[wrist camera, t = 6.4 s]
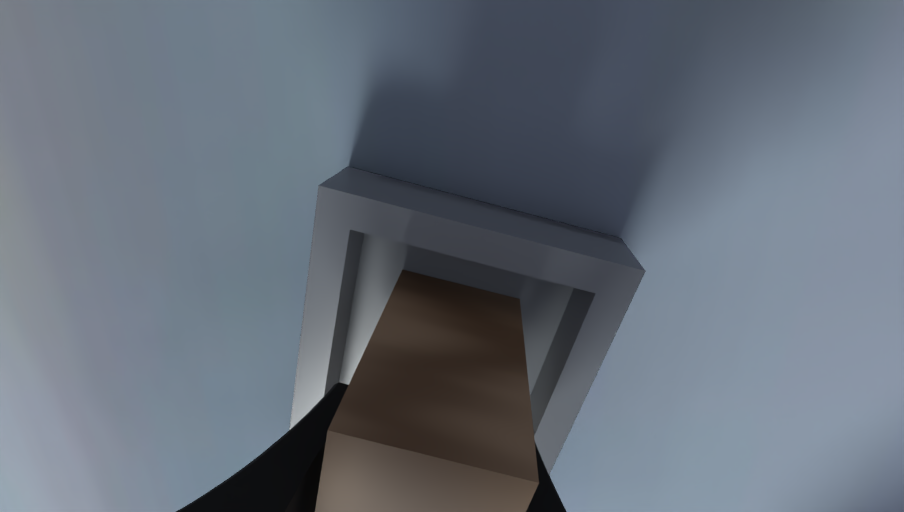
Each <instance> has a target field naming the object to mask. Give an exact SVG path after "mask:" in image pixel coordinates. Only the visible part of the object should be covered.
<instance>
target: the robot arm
mask: <svg viewBox="0 0 904 512" xmlns="http://www.w3.org/2000/svg"><path fill="white" fill-rule="evenodd" d="M347 387H348V384H344V383H340V382H338V383H336V384H334V385H333V387H332V388H331V389H330V390H329V391H328V393H327V394H326V395H325V396H324V397H323V398H322V399H321V400H320V401H319V402H318V403H317V404H316V405H315V406H314V407H313V408H312V409H311V410H310V411H309V412H308V413H307V414H306V415H305V416H304V417H303V418H302V419H301V420H300V421H299V422H298V423H297V424H296V425H295V426H294V427H293V428H291V429H290V430H289V431H288V432H287V433H286V434H285V435H284V436H282V437H281V438H280V439H279V440H278V441H276V442H275V443H274V444H273V445H272V446H270V447H269V448H268V449H267V450H266V451H265V452H263V453H262V454H261V455H260V456H258V457H257V458H256V459H254V460H253V461H252V462H251V463H249V464H248V465H247V466H245V467H244V468H243V469H241V470H240V471H238V472H237V473H236V474H234V475H233V476H231V477H230V478H229V479H227V480H226V481H224V482H223V483H221V484H220V485H218V486H217V487H215V488H214V489H212V490H211V491H209V492H208V493H206V494H205V495H203V496H201V497H200V498H198V499H197V500H195V501H193V502H192V503H190V504H189V505H187V506H185V507H183V508H182V509H180V510H178V511H176V512H315V508H316V502H317V495H318V489H319V482H320V476H321V470H322V463H323V457H324V450H325V444H326V437H327V431H328V428H329V426H330V424H331V422H332V420H333V418H334V415H335V413H336V411H337V409H338V407H339V405H340V403H341V400H342V398H343V396H344V394H345V392H346V390H347ZM535 449H536V459H537V468H538V478H539V484H538V486H537V489H536V491H535V493H534V495H533V497H532V500H531V502H530V504H529V506H528V508H527V511H526V512H566V510H565V508H564V506H563V504H562V502H561V500H560V498H559V495H558V493H557V491H556V489H555V487H554V485H553V483H552V481H551V478H550V476H549V474H548V472H547V469H546V467H545V465H544V462H543V460H542V458H541V455H540V453H539V450H538V448H537V445H536V443H535Z"/></svg>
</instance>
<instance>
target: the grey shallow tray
mask: <svg viewBox="0 0 904 512" xmlns="http://www.w3.org/2000/svg"><path fill="white" fill-rule="evenodd" d="M402 269H403V270H407V271H411V272H415V273H419V274H423V275H427V276H430V277H434V278H438V279H442V280H446V281H450V282H454V283H458V284H462V285H466V286H470V287H474V288H478V289H482V290H486V291H490V292H494V293H498V294H502V295H506V296H510V297H514V298H518V299H520V306H521V315H522V325H523V334H524V344H525V354H526V363H527V373H528V382H529V392H530V401H531V411H532V421H533V430H534V440H535V443H536V445H537V448H538V450H539V453H540V455H541V458H542V460H543V462H544V465H545V467H546V469H547V472H548V474H550V472H551V470H552V468H553V466H554V464H555V461H556V459H557V457H558V455H559V453H560V451H561V449H562V447H563V444H564V442H565V440H566V438H567V436H568V434H569V432H570V430H571V428H572V425H573V423H574V421H575V419H576V417H577V415H578V413H579V411H580V409H581V406H582V404H583V402H584V400H585V398H586V396H587V394H588V392H589V389H590V387H591V385H592V383H593V381H594V379H595V377H596V375H597V373H598V370H599V368H600V366H601V364H602V362H603V360H604V358H605V356H606V354H607V351H608V349H609V347H610V345H611V343H612V341H613V339H614V337H615V335H616V332H617V330H618V328H619V326H620V324H621V322H622V320H623V318H624V315H625V313H626V311H627V309H628V307H629V305H630V303H631V301H632V299H633V296H634V294H635V292H636V290H637V288H638V286H639V284H640V282H641V280H642V277H643V275H644V273H645V270H644V268H643V267H642V266H641V264H640V263H639V262H638V260H637V259H636V258H635V256H634V255H633V254H632V252H631V251H630V250H629V248H628V247H627V246H626V244H625V243H624V242H623V240H622V239H621V238H618V237H614V236H611V235H607V234H603V233H599V232H595V231H591V230H588V229H584V228H580V227H576V226H572V225H569V224H565V223H561V222H557V221H553V220H550V219H546V218H542V217H538V216H534V215H530V214H527V213H523V212H519V211H515V210H511V209H508V208H504V207H500V206H496V205H492V204H489V203H485V202H481V201H477V200H473V199H469V198H466V197H462V196H458V195H454V194H450V193H447V192H443V191H439V190H435V189H431V188H428V187H424V186H420V185H416V184H412V183H408V182H405V181H401V180H397V179H393V178H389V177H386V176H382V175H378V174H374V173H370V172H367V171H363V170H359V169H355V168H351V167H346V168H345V169H343V170H342V171H340V172H339V173H337V174H336V175H334V176H333V177H331V178H329V179H328V180H326V181H325V182H323V183H322V184H320V185H319V186H318V195H317V203H316V212H315V220H314V228H313V237H312V245H311V254H310V262H309V270H308V279H307V287H306V295H305V304H304V312H303V321H302V329H301V337H300V346H299V354H298V362H297V371H296V379H295V388H294V396H293V404H292V413H291V421H290V429H291V428H293V427H294V426H295V425H296V424H297V423H298V422H299V421H300V420H301V419H302V418H303V417H304V416H305V415H306V414H307V413H308V412H309V411H310V410H311V409H312V408H313V407H314V406H315V405H316V404H317V403H318V402H319V401H320V400H321V399H322V398H323V397H324V396H325V395H326V394H327V393H328V391H329V390H330V389H331V388H332V387H333V385H334V384H336V383H338V382H340V383H344V384H348V385H349V383H350V381H351V379H352V377H353V375H354V372H355V370H356V368H357V366H358V364H359V362H360V360H361V357H362V355H363V353H364V351H365V349H366V347H367V345H368V342H369V340H370V338H371V336H372V334H373V332H374V330H375V327H376V325H377V323H378V321H379V319H380V317H381V314H382V312H383V310H384V308H385V306H386V304H387V302H388V299H389V297H390V295H391V293H392V291H393V289H394V287H395V284H396V282H397V280H398V278H399V276H400V274H401V272H402ZM290 429H289V430H290Z"/></svg>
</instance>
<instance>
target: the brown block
mask: <svg viewBox="0 0 904 512" xmlns="http://www.w3.org/2000/svg"><path fill="white" fill-rule="evenodd" d="M538 484H539V478H538V468H537V459H536V449H535V440H534V430H533V421H532V411H531V401H530V392H529V382H528V373H527V363H526V354H525V344H524V334H523V325H522V315H521V306H520V299H518V298H514V297H510V296H506V295H502V294H498V293H494V292H490V291H486V290H482V289H478V288H474V287H470V286H466V285H462V284H458V283H454V282H450V281H446V280H442V279H438V278H434V277H430V276H427V275H423V274H419V273H415V272H411V271H407V270H403V269H402V272H401V274H400V276H399V278H398V280H397V282H396V284H395V287H394V289H393V291H392V293H391V295H390V297H389V299H388V302H387V304H386V306H385V308H384V310H383V312H382V314H381V317H380V319H379V321H378V323H377V325H376V327H375V330H374V332H373V334H372V336H371V338H370V340H369V342H368V345H367V347H366V349H365V351H364V353H363V355H362V357H361V360H360V362H359V364H358V366H357V368H356V370H355V372H354V375H353V377H352V379H351V381H350V383H349V385H348V387H347V390H346V392H345V394H344V396H343V398H342V400H341V403H340V405H339V407H338V409H337V411H336V413H335V415H334V418H333V420H332V422H331V424H330V426H329V428H328V431H327V437H326V444H325V450H324V457H323V463H322V470H321V476H320V482H319V489H318V495H317V502H316V508H315V512H526V511H527V508H528V506H529V504H530V502H531V500H532V497H533V495H534V493H535V491H536V489H537V486H538Z"/></svg>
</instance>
